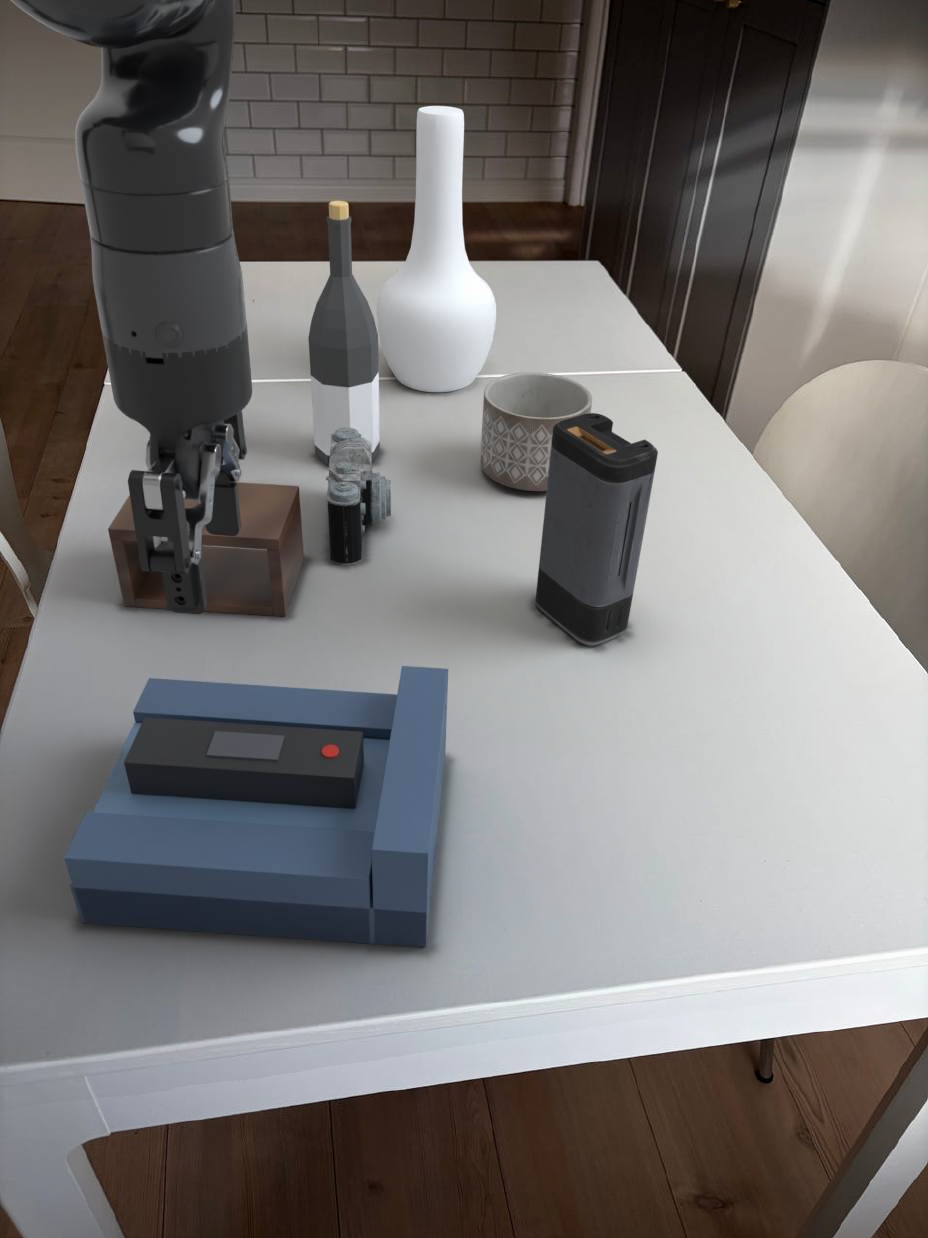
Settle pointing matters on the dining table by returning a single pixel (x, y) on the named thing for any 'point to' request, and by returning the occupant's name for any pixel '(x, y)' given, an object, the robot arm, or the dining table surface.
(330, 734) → the remote
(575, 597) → the electronic device
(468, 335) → the vase
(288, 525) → the shelf
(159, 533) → the robot arm
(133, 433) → the dining table surface
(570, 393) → the planter
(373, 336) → the wine bottle
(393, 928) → the sofa
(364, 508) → the camera
